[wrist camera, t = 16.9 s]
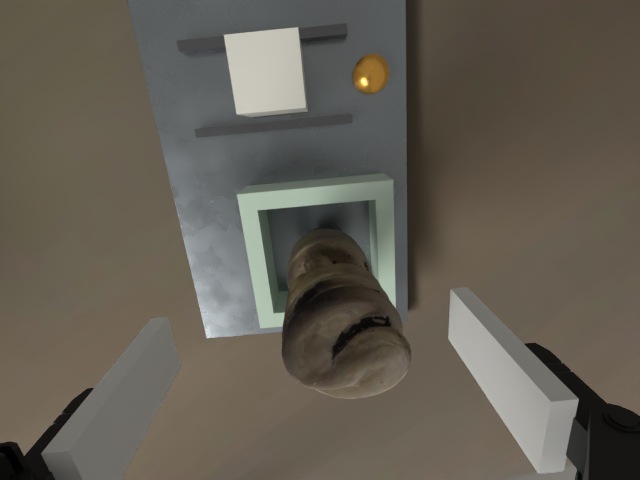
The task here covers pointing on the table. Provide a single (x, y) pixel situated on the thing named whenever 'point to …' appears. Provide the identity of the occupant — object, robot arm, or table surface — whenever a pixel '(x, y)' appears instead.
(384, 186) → the socket
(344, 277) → the light bulb
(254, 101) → the block
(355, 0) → the panel
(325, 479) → the table surface
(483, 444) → the table surface
